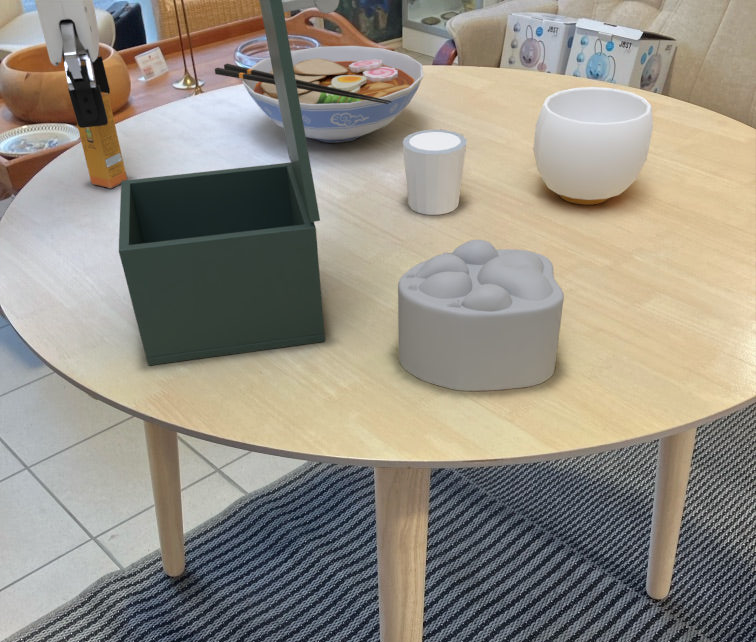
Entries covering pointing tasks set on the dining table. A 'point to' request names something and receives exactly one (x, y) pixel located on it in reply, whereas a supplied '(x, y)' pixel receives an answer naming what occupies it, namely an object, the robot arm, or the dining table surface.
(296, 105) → the lid
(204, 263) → the chest
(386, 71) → the ramen bowl
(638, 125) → the cup
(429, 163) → the shot glass
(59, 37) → the robot arm
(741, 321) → the dining table surface
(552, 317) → the lumpy-topped squat cylinder
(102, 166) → the supplement box
